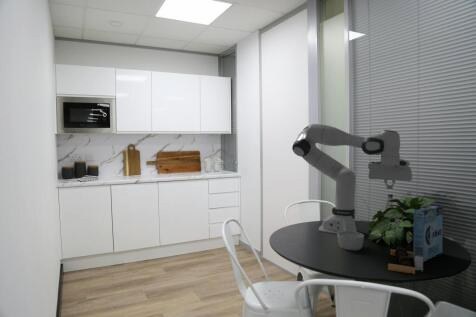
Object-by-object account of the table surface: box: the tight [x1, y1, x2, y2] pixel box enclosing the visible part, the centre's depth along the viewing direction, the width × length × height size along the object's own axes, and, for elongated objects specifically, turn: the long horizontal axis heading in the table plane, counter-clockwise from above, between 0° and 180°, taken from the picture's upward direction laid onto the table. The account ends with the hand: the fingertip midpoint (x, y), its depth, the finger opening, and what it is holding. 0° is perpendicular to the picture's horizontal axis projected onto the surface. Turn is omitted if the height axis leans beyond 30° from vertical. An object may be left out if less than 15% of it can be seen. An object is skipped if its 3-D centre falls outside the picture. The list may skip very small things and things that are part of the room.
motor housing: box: [387, 246, 424, 275], centre depth 144 cm, size 13×22×7 cm, turn 153°
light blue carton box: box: [412, 205, 444, 263], centre depth 154 cm, size 20×5×23 cm, turn 126°
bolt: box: [394, 247, 412, 267], centre depth 146 cm, size 6×5×15 cm
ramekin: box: [336, 231, 365, 251], centre depth 169 cm, size 13×13×7 cm
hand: (389, 188), depth 166 cm, fingers closed
